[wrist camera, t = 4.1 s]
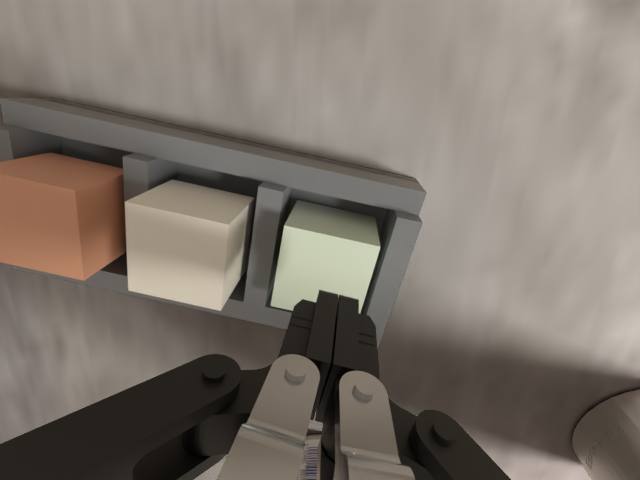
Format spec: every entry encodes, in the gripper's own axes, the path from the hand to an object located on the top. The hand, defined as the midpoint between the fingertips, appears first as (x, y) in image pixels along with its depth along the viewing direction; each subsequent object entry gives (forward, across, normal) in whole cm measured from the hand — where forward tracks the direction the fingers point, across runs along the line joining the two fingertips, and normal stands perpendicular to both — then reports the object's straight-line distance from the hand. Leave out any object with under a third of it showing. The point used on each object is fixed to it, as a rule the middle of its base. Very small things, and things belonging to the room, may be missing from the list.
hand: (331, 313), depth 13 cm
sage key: (+7, +1, +1) cm, 7 cm away
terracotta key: (+6, +14, +1) cm, 15 cm away
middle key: (+6, +7, +1) cm, 9 cm away
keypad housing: (+8, +7, +1) cm, 11 cm away
